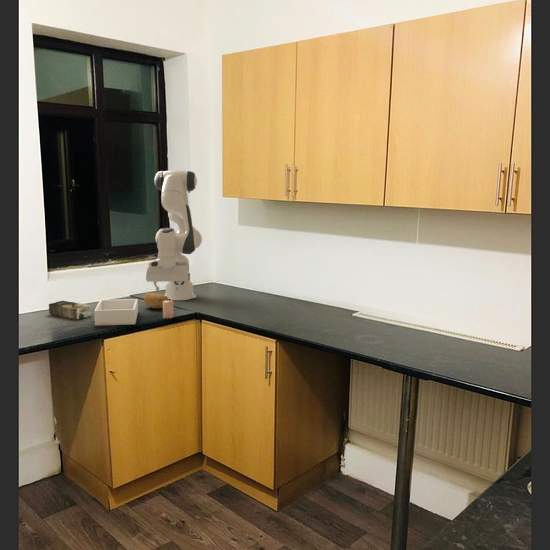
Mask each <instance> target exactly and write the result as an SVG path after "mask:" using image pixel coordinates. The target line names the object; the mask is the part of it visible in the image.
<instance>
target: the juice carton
mask: <svg viewBox="0 0 550 550" xmlns="http://www.w3.org/2000/svg"><path fill="white" fill-rule="evenodd" d="M48 311H49V312H48V313H49V315H50V314H51V315H53V316H55V315H58V316H57V317H60V316H63V317H62V318H65V317H69V318H68V319H71V318H74V319H73V320H76V319H79V320H81V319H85V317H86V318H89V317H92V305H89V304H86V303H85V304H83V303H79V302H75V301H68V300H60V301H59V300H58V301H56V302H52V303H49V304H48Z"/></svg>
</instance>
